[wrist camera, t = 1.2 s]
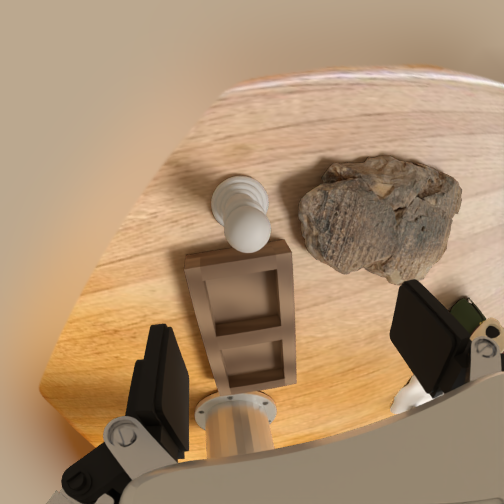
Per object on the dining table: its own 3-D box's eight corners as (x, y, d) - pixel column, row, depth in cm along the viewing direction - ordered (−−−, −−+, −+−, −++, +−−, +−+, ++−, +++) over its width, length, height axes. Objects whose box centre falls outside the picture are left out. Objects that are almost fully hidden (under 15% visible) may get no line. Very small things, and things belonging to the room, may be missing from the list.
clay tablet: (275, 260, 32) (417, 278, 35) (285, 283, 27) (438, 297, 31) (306, 126, 26) (451, 176, 30) (323, 127, 22) (477, 186, 26)
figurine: (481, 346, 46) (518, 400, 31) (446, 401, 54) (470, 451, 39) (408, 360, 45) (444, 432, 30) (376, 417, 53) (397, 479, 38)
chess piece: (200, 209, 28) (196, 249, 20) (233, 163, 26) (243, 184, 18) (245, 238, 30) (259, 286, 22) (278, 195, 28) (306, 229, 20)
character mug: (482, 291, 39) (529, 335, 28) (466, 325, 42) (507, 370, 31) (444, 294, 38) (496, 347, 26) (427, 332, 41) (471, 387, 29)
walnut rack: (291, 367, 39) (296, 383, 36) (218, 379, 38) (220, 396, 35) (284, 239, 30) (291, 252, 28) (185, 255, 30) (183, 269, 27)
